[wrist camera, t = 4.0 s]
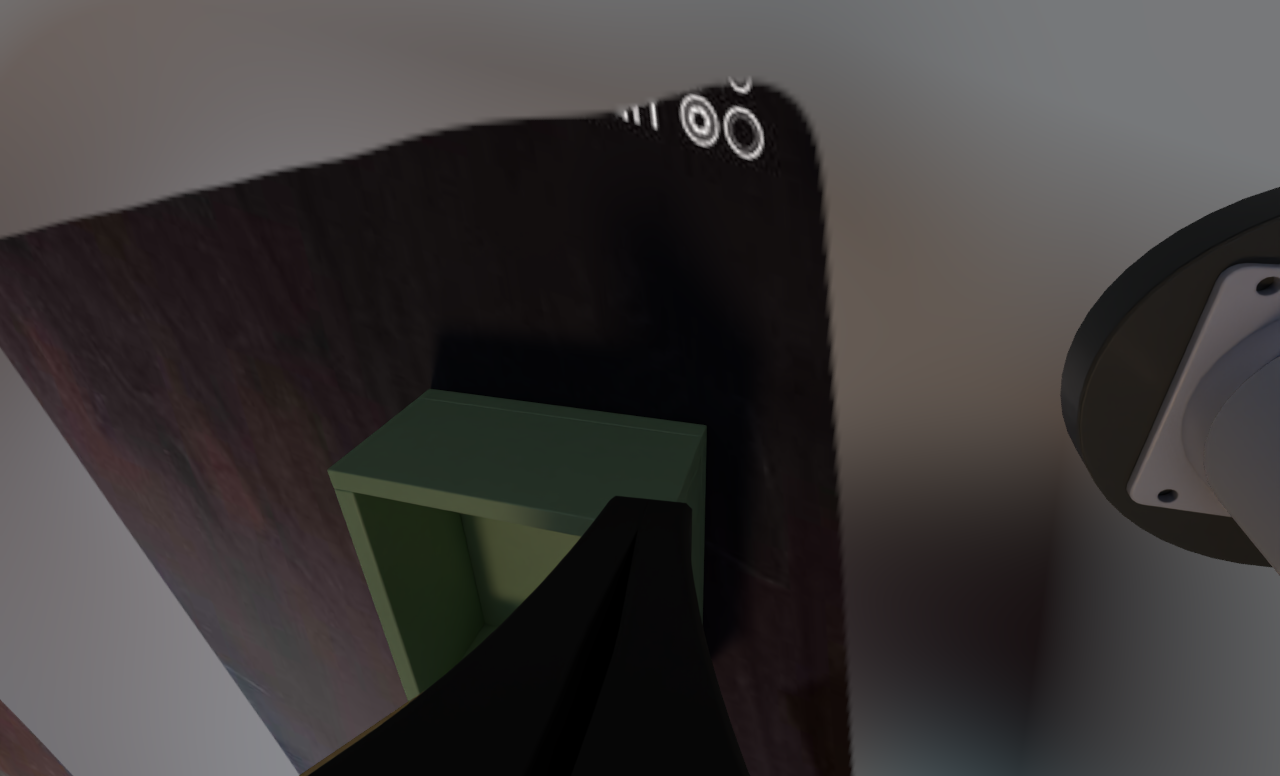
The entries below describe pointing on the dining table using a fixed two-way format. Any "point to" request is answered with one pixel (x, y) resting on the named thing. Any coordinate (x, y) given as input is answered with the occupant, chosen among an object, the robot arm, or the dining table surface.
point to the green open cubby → (495, 509)
